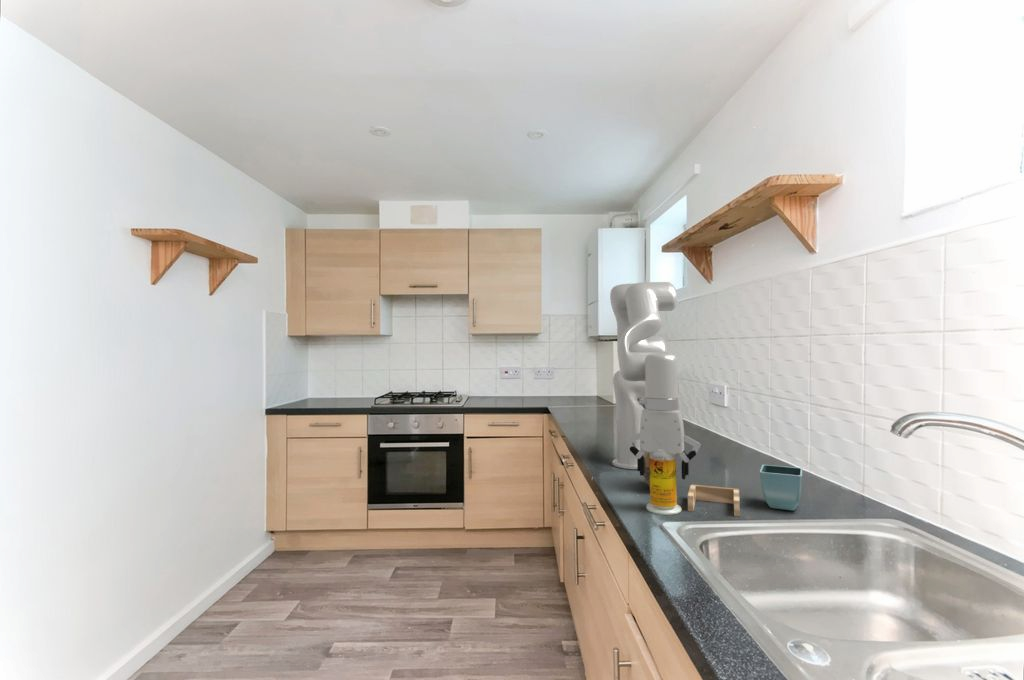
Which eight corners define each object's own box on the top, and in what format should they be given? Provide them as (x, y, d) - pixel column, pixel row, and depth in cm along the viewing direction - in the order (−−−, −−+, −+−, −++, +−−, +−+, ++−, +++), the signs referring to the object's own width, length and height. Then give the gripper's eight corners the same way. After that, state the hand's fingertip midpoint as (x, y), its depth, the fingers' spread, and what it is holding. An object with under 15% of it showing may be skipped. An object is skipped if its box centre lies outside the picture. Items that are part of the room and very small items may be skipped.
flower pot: (763, 499, 126) (762, 463, 126) (803, 504, 121) (802, 467, 121) (760, 509, 118) (759, 471, 118) (803, 515, 113) (802, 475, 114)
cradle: (691, 498, 127) (690, 484, 127) (739, 502, 123) (738, 488, 123) (687, 510, 118) (687, 495, 118) (739, 516, 113) (739, 501, 113)
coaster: (649, 502, 124) (649, 500, 124) (682, 506, 121) (682, 503, 121) (644, 512, 117) (644, 510, 117) (679, 516, 114) (679, 514, 114)
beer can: (647, 508, 118) (646, 445, 118) (653, 501, 123) (652, 440, 124) (674, 512, 115) (673, 447, 115) (678, 504, 120) (677, 442, 121)
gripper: (622, 405, 119) (623, 476, 119) (699, 408, 112) (700, 483, 112) (628, 401, 126) (629, 469, 126) (700, 404, 119) (702, 475, 119)
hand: (662, 476), depth 119 cm, fingers open, 9 cm apart
